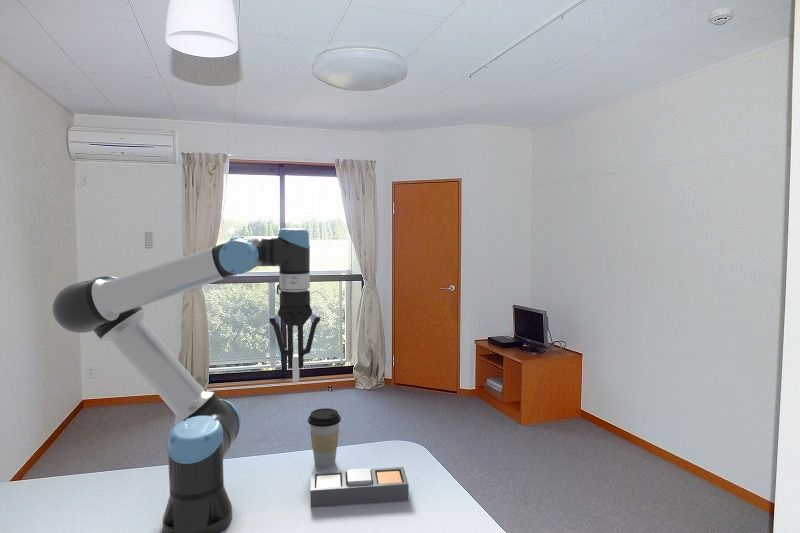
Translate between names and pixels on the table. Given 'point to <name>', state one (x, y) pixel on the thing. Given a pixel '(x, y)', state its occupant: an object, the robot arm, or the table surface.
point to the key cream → (328, 481)
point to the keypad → (358, 490)
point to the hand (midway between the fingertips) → (296, 380)
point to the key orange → (388, 477)
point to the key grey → (359, 477)
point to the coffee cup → (324, 436)
